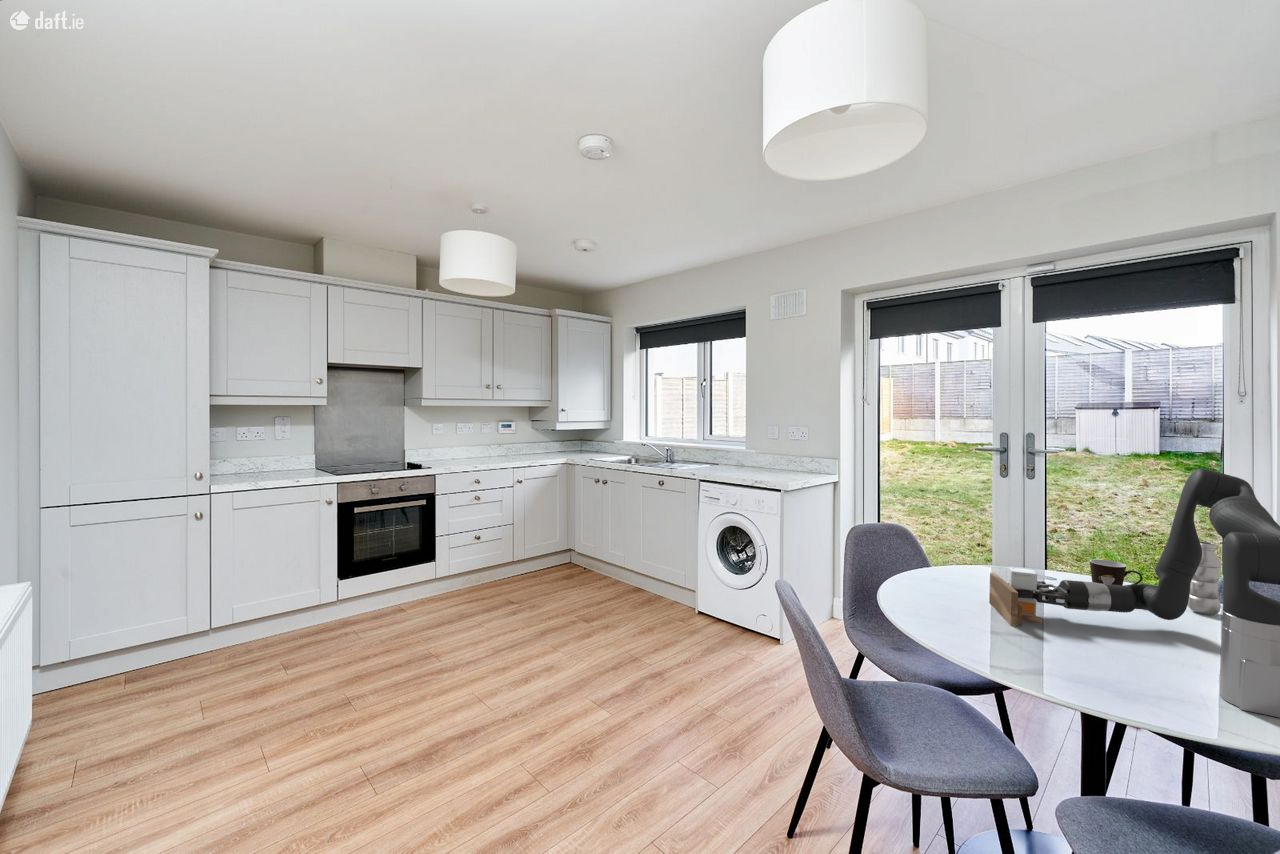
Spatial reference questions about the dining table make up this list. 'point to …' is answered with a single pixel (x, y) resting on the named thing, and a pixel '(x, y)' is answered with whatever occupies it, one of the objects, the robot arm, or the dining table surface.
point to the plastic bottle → (1206, 582)
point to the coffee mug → (1109, 572)
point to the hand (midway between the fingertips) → (1011, 589)
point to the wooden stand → (1008, 602)
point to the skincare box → (1024, 587)
